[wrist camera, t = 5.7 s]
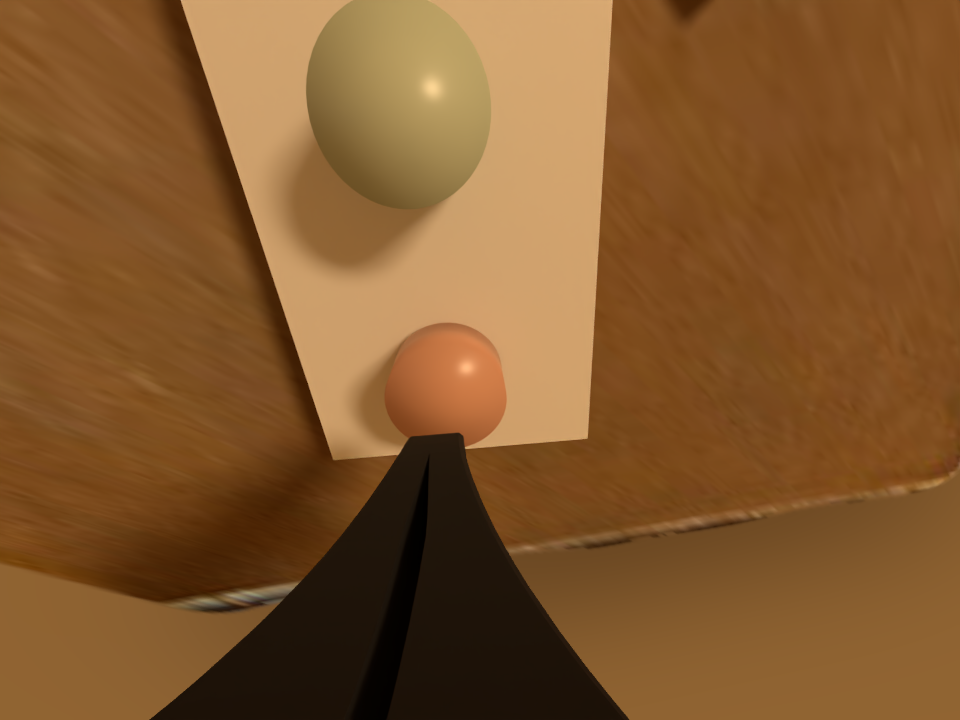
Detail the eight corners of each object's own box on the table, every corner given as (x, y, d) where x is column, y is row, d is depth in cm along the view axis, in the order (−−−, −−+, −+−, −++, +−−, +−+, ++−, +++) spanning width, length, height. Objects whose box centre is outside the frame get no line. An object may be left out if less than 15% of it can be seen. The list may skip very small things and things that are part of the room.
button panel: (346, 431, 18) (333, 460, 17) (50, -559, 7) (-81, -786, 6) (575, 411, 18) (587, 438, 16) (614, -621, 7) (662, -872, 6)
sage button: (354, 208, 11) (332, 216, 9) (316, 32, 9) (280, 0, 8) (492, 195, 11) (496, 201, 9) (480, 16, 9) (484, -20, 7)
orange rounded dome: (404, 420, 15) (396, 454, 14) (385, 327, 14) (373, 352, 12) (504, 411, 15) (509, 444, 13) (498, 317, 13) (503, 340, 12)
